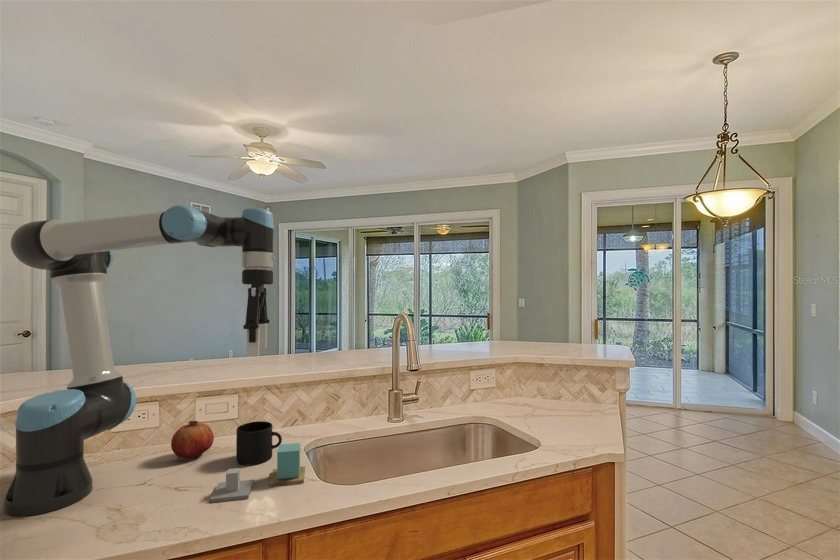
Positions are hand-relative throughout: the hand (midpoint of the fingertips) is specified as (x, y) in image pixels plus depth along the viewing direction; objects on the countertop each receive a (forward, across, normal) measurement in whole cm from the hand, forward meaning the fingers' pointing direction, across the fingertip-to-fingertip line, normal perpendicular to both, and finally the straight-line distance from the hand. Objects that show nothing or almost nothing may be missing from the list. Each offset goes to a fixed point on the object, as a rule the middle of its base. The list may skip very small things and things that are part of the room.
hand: (257, 351), depth 108 cm
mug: (+32, +11, +1) cm, 34 cm away
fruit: (+32, +17, +20) cm, 41 cm away
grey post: (+32, -8, +4) cm, 33 cm away
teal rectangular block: (+31, -3, -8) cm, 32 cm away
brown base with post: (+32, -3, -8) cm, 33 cm away
